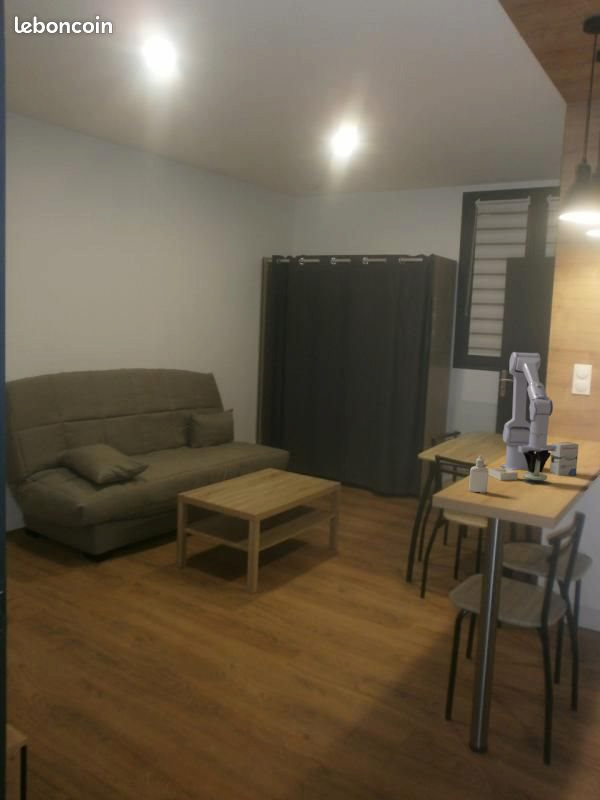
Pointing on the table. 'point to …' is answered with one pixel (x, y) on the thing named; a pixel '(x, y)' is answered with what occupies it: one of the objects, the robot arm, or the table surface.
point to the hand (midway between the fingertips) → (535, 472)
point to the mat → (534, 481)
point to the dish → (503, 474)
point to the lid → (535, 473)
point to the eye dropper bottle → (478, 477)
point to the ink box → (564, 459)
